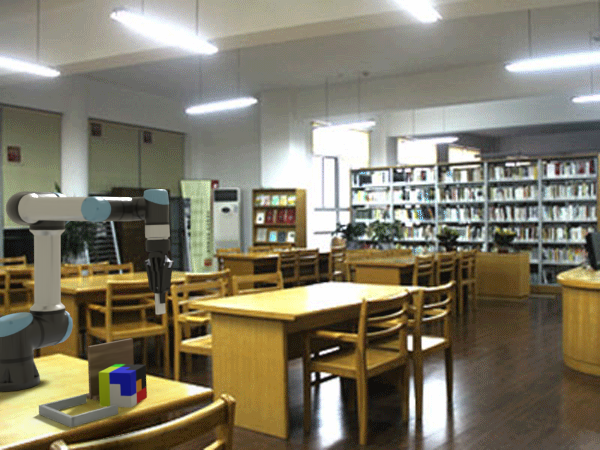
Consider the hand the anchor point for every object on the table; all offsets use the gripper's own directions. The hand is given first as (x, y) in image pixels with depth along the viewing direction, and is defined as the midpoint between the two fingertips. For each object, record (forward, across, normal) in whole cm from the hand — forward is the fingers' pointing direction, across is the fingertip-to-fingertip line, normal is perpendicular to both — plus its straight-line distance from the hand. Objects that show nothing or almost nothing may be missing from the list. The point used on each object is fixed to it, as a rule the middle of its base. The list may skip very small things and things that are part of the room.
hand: (160, 313), depth 194 cm
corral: (+24, 0, +28) cm, 37 cm away
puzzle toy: (+25, 0, +14) cm, 28 cm away
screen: (+24, +11, +12) cm, 29 cm away
